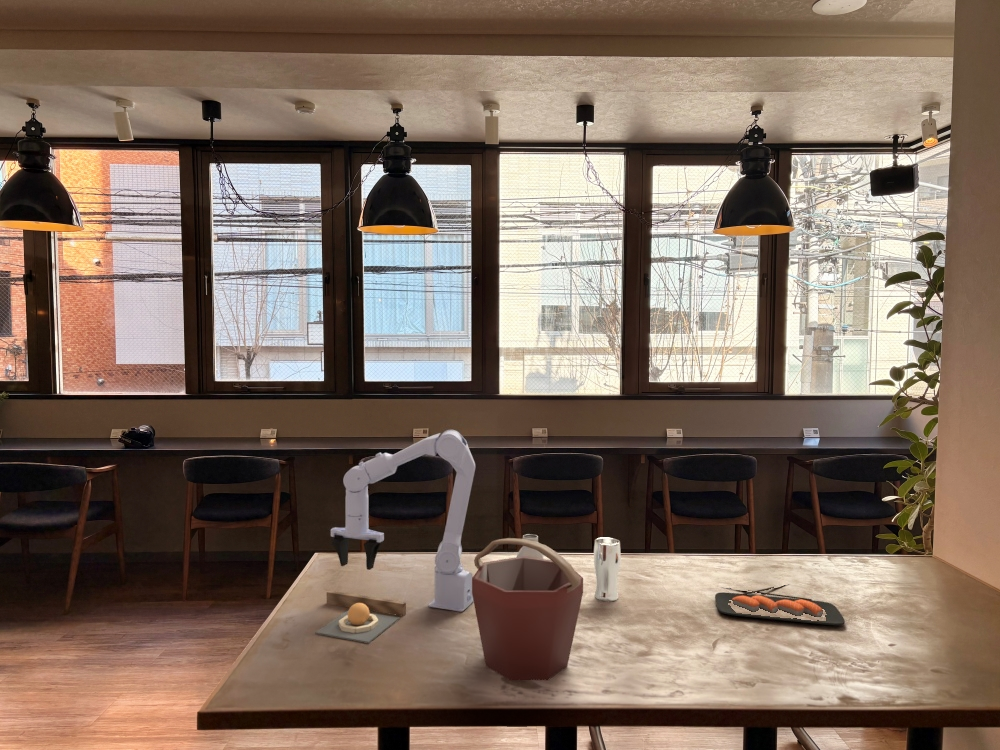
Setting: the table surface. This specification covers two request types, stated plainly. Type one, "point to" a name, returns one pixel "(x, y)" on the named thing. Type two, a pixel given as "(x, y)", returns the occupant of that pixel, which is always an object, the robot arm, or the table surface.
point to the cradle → (357, 627)
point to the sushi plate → (778, 606)
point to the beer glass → (607, 568)
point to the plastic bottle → (529, 551)
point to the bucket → (526, 611)
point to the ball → (358, 614)
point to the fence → (367, 602)
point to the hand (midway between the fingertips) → (357, 566)
